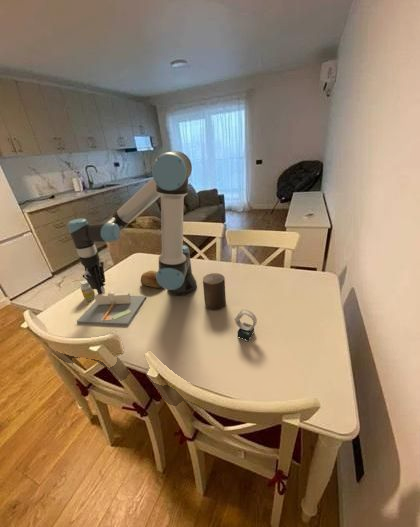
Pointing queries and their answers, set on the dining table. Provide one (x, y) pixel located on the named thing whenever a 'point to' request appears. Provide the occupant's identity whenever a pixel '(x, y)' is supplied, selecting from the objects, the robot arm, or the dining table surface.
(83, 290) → the supplement bottle
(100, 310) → the grey tray
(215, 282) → the pillar candle
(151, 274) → the bread roll
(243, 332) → the watch
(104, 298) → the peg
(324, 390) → the dining table surface
